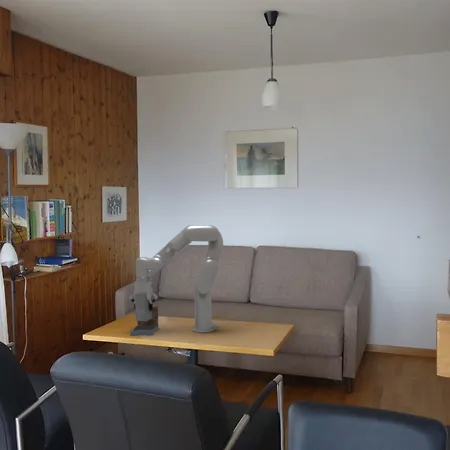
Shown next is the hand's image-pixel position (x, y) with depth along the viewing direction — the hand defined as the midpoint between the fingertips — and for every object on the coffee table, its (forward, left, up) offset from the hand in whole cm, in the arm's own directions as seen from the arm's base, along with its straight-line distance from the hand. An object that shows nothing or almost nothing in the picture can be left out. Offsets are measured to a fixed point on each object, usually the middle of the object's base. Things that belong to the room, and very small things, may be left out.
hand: (143, 310), depth 307 cm
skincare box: (0, 0, -6) cm, 6 cm away
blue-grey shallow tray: (0, 0, -13) cm, 13 cm away
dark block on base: (0, -9, -13) cm, 15 cm away
